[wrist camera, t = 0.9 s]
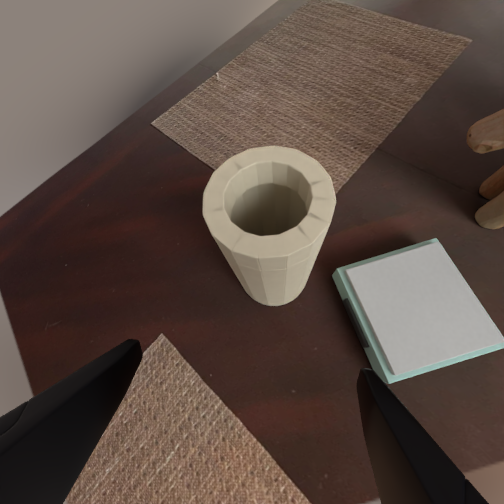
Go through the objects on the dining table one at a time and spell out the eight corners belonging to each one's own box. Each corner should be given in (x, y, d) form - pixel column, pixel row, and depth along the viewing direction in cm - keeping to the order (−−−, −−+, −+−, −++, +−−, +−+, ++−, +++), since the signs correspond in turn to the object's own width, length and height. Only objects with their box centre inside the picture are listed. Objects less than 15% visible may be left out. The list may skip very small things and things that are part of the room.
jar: (311, 303, 24) (348, 250, 11) (242, 308, 24) (200, 263, 11) (301, 240, 26) (323, 138, 14) (240, 246, 27) (204, 153, 14)
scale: (374, 381, 21) (389, 385, 18) (329, 276, 25) (335, 267, 22) (485, 346, 21) (517, 346, 18) (422, 247, 25) (440, 234, 22)
